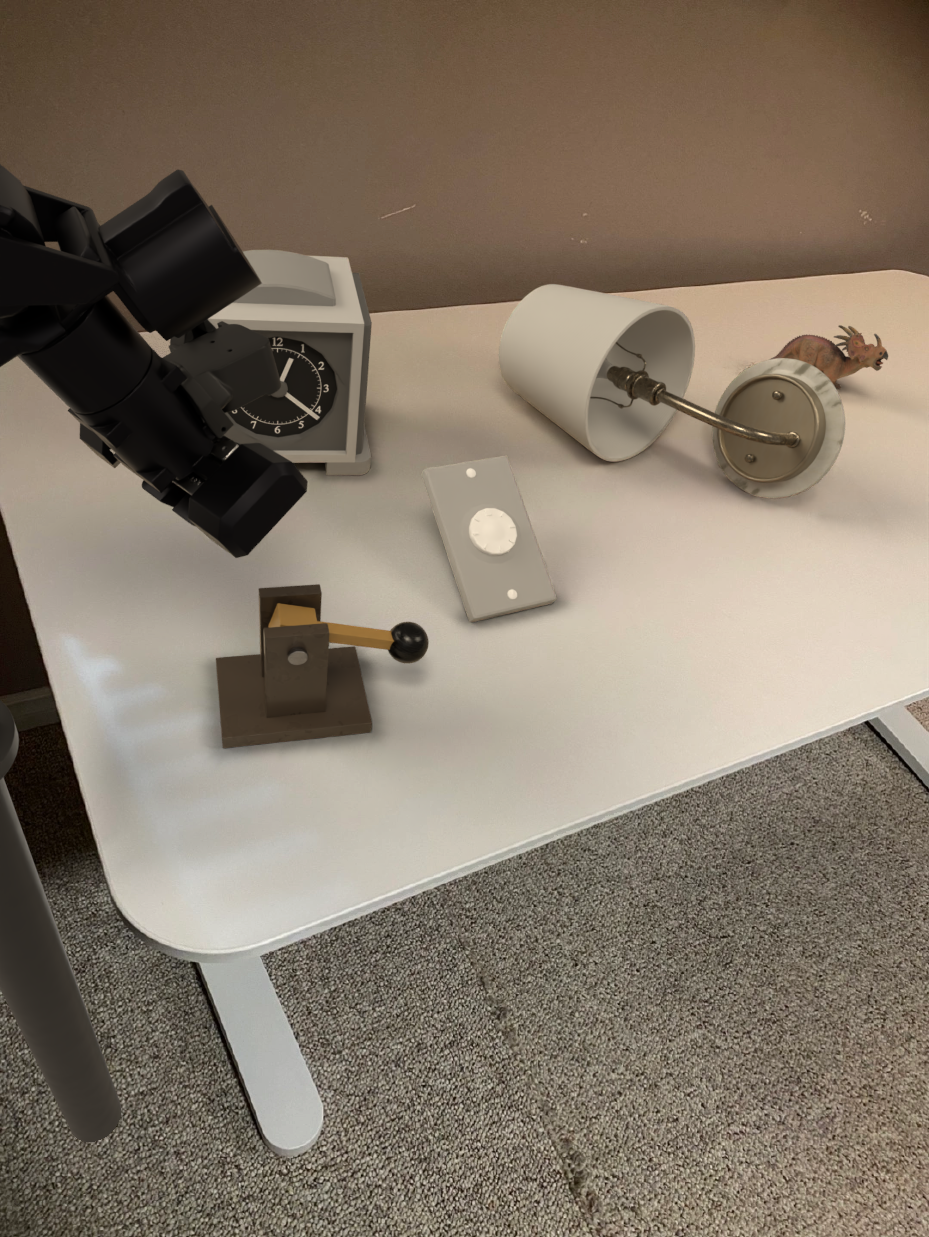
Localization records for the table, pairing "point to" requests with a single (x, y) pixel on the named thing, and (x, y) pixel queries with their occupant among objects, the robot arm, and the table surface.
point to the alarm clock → (308, 360)
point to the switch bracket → (291, 681)
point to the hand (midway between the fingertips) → (255, 533)
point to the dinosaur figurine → (836, 353)
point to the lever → (361, 633)
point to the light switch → (488, 537)
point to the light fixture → (665, 388)
